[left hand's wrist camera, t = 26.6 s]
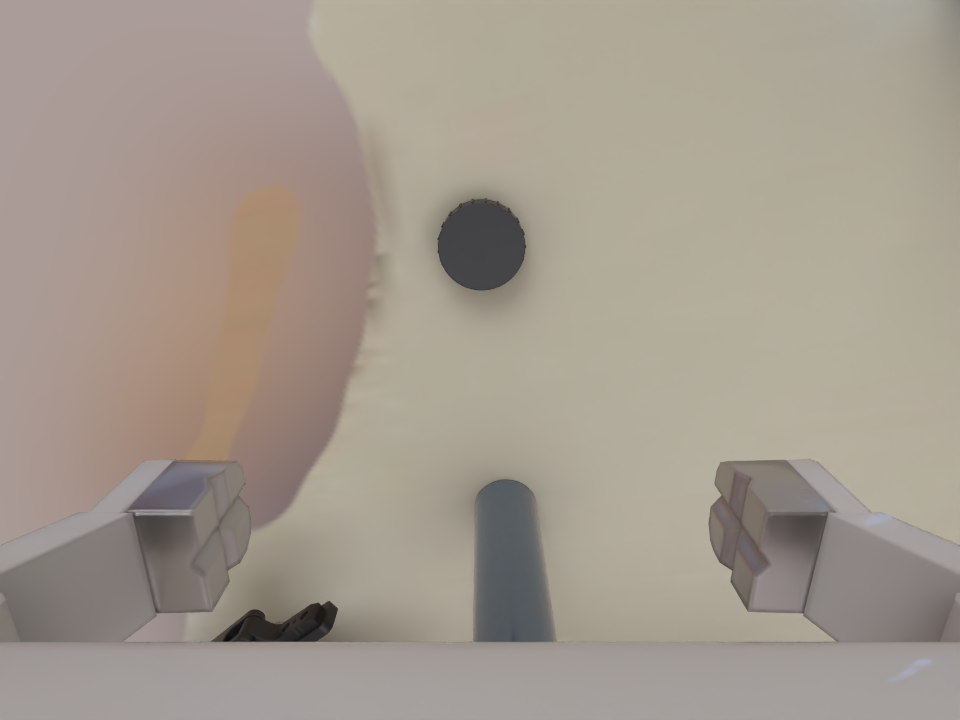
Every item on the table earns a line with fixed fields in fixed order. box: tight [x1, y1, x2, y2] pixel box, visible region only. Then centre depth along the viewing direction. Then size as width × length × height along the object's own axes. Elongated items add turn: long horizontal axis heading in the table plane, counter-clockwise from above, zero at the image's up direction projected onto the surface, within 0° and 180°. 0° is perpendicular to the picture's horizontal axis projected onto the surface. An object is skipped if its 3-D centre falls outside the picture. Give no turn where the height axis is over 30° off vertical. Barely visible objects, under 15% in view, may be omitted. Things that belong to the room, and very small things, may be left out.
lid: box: [438, 198, 526, 290], centre depth 35 cm, size 5×5×2 cm
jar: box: [473, 480, 557, 642], centre depth 35 cm, size 4×4×17 cm
